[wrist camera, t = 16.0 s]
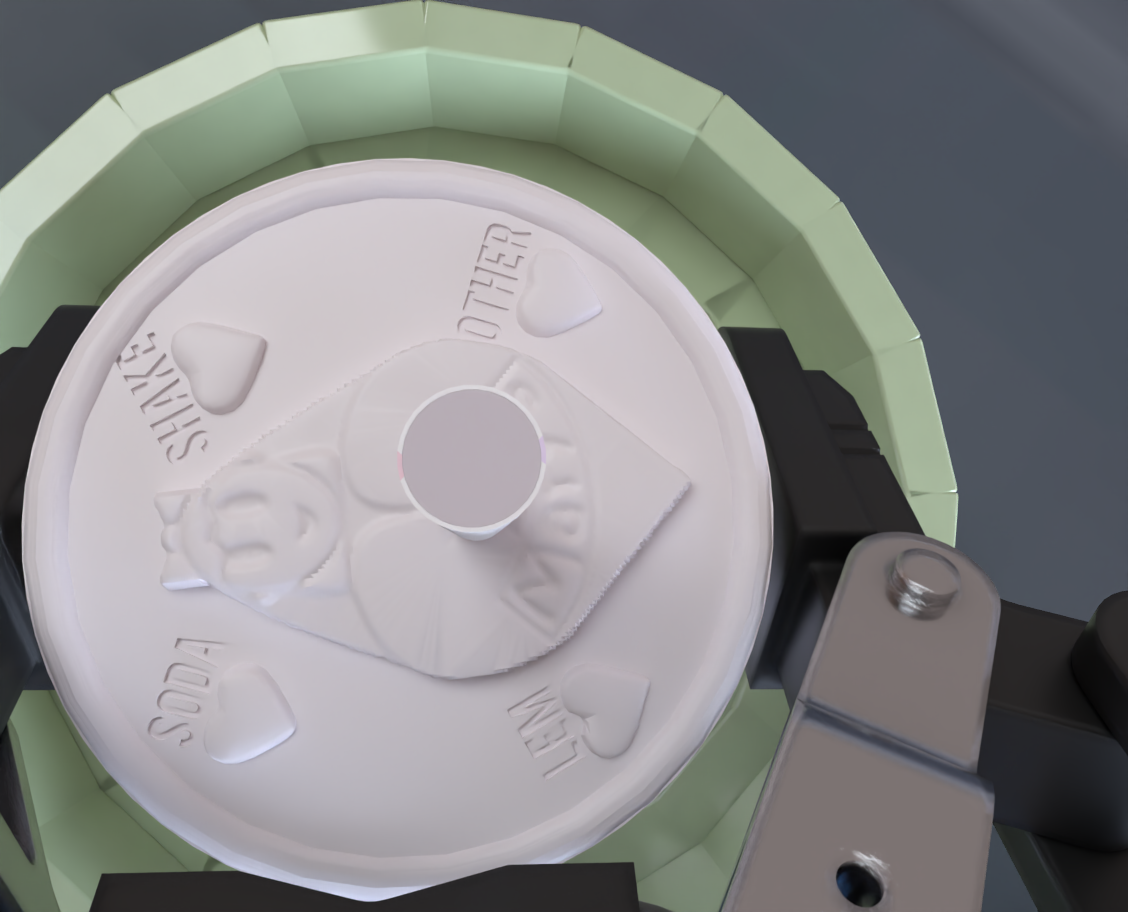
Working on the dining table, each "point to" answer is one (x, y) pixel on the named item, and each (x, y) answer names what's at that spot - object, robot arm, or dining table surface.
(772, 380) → the robot arm
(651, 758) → the smoothie
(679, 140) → the bowl
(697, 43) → the dining table surface
